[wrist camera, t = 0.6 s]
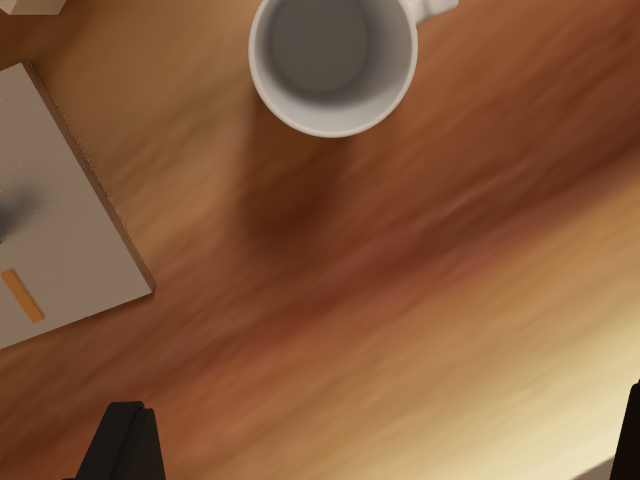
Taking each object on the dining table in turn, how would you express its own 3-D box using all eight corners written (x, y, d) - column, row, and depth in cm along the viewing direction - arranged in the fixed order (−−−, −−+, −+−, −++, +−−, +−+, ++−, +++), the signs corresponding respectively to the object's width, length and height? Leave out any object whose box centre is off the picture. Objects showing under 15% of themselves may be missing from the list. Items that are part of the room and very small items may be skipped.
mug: (289, 115, 35) (290, 163, 24) (242, 9, 32) (217, 6, 21) (440, 48, 34) (515, 66, 23) (403, -67, 31) (466, -112, 20)
